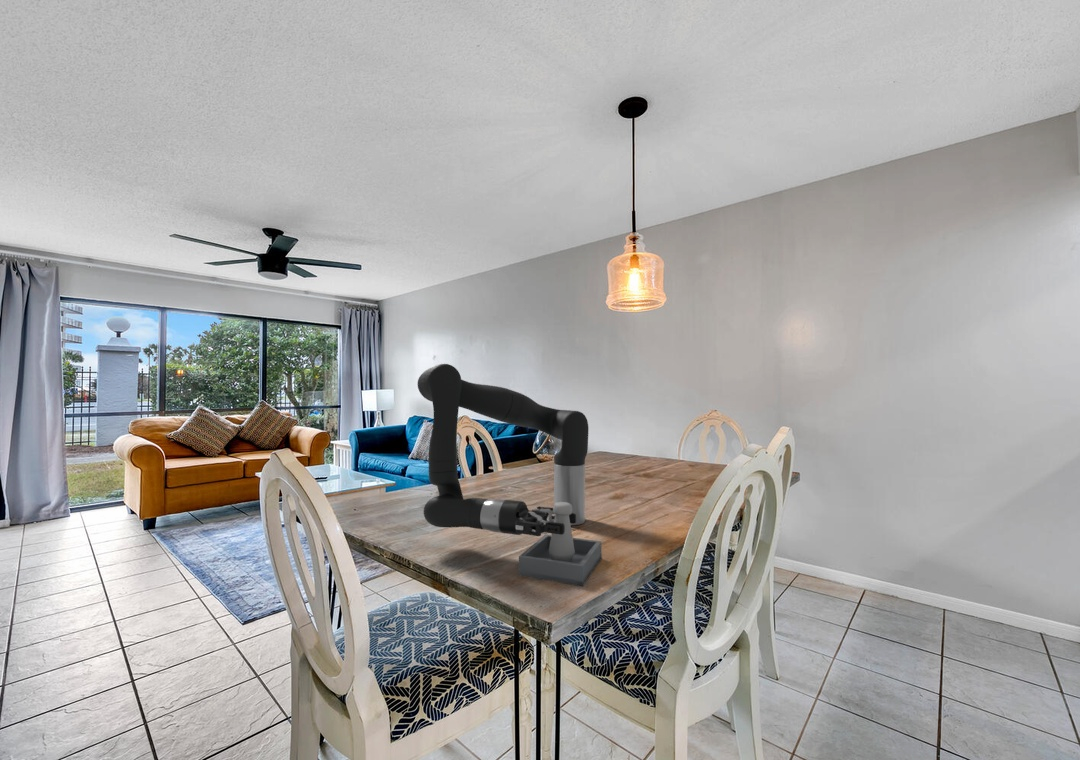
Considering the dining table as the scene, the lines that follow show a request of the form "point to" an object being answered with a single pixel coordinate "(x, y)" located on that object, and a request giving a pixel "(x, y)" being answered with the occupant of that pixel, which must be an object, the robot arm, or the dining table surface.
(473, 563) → the dining table surface
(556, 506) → the salt shaker
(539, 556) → the tray
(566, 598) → the dining table surface
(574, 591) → the dining table surface
